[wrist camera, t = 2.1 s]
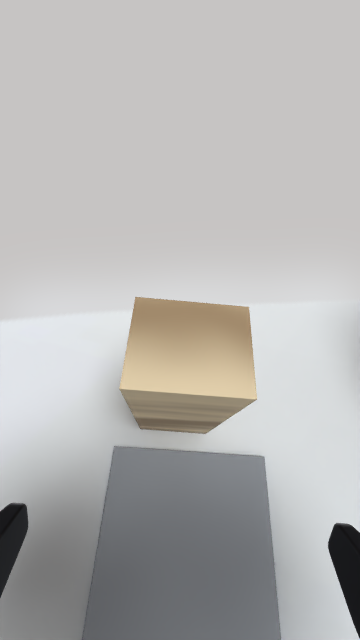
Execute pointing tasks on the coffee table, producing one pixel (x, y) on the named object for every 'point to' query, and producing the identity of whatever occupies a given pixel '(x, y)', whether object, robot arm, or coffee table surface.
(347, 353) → the coffee table surface
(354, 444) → the coffee table surface
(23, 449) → the coffee table surface
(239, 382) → the oak block
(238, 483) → the slate mat
